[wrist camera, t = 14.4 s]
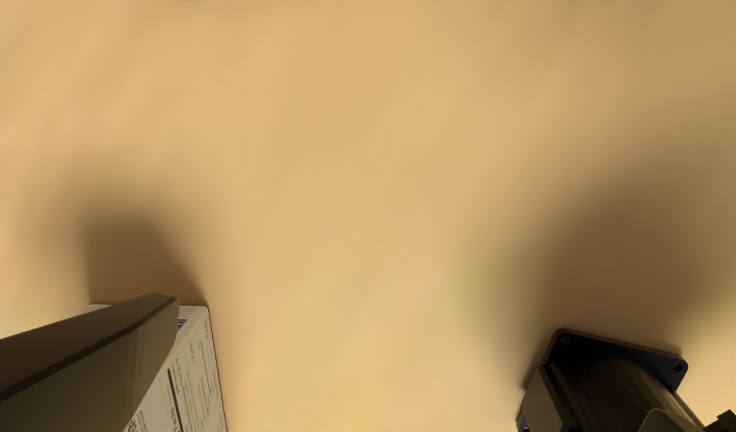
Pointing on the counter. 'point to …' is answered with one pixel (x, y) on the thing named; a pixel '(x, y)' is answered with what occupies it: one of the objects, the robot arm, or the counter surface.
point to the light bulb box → (182, 381)
